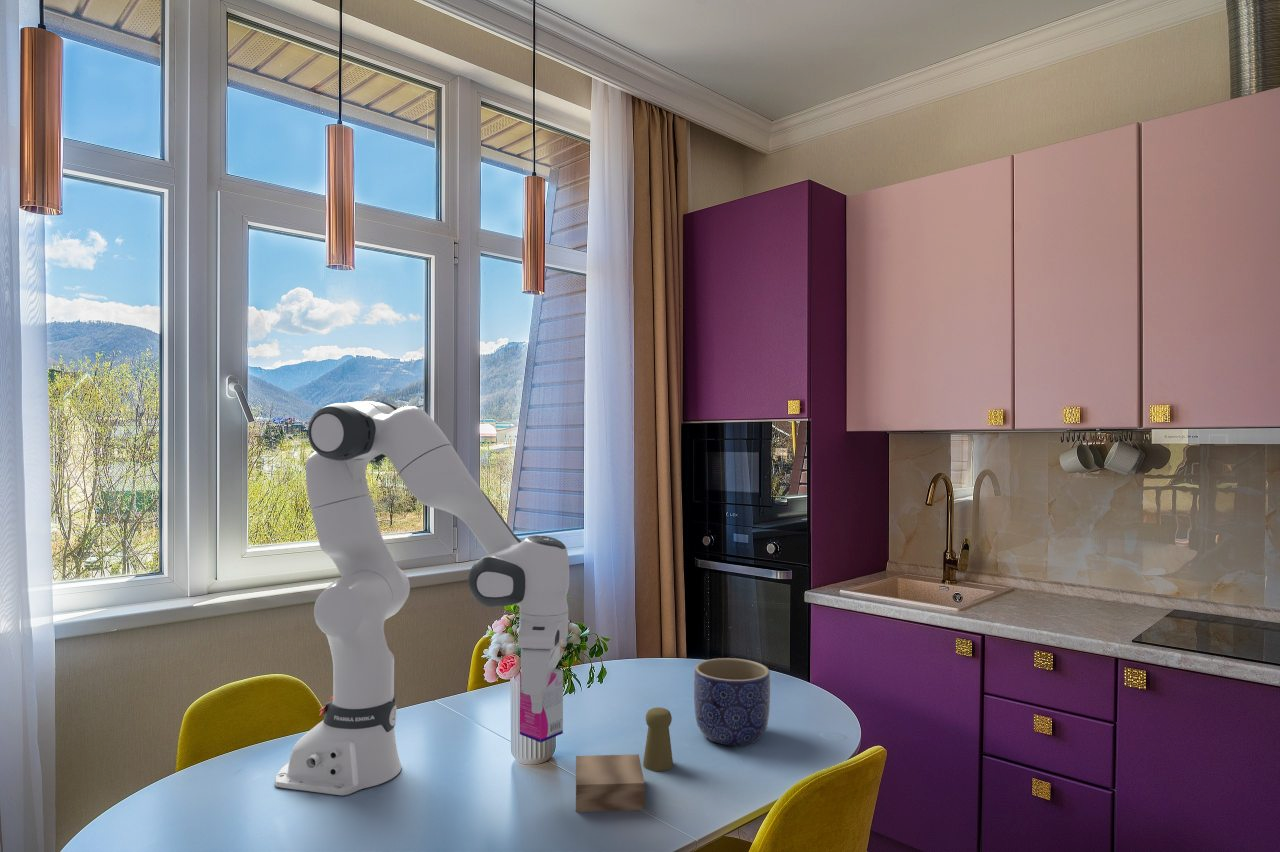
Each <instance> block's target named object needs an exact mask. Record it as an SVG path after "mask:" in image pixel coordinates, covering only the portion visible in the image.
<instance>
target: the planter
mask: <svg viewBox="0 0 1280 852" xmlns="http://www.w3.org/2000/svg"><path fill="white" fill-rule="evenodd" d="M693 678H694V679H693V683H694V684H693V685H694V686H693V693H694V694H693V695H694V696H693V701H694V717H695V722H696V724H697V727H698V729H699V730H700V733H701V734H703V736H704V737H706V738H707V739H708V740H709V741H711V742H714V743H716V744H719V745H722V746H731V747H742V746H747V745H750V744H753V743H754V742H756V741H758V740H759V739H760V738H761V737H762V736H763V735H764V733H765V732H766V730H767V728H768V725H769V719H770V711H771V710H770V709H771V708H770V707H771V672H770V669H769V668H768V667H767V666H766V665H764V664H762V663H760V662H757V661H753V660H749V659H744V658H735V657H733V658H732V657H726V658H725V657H724V658H723V657H722V658H721V657H718V658H712V659H711V658H710V659H706V660H703V661H701V662H700V661H699V663H697V664H696V665H695V667H694V675H693Z"/></svg>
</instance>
